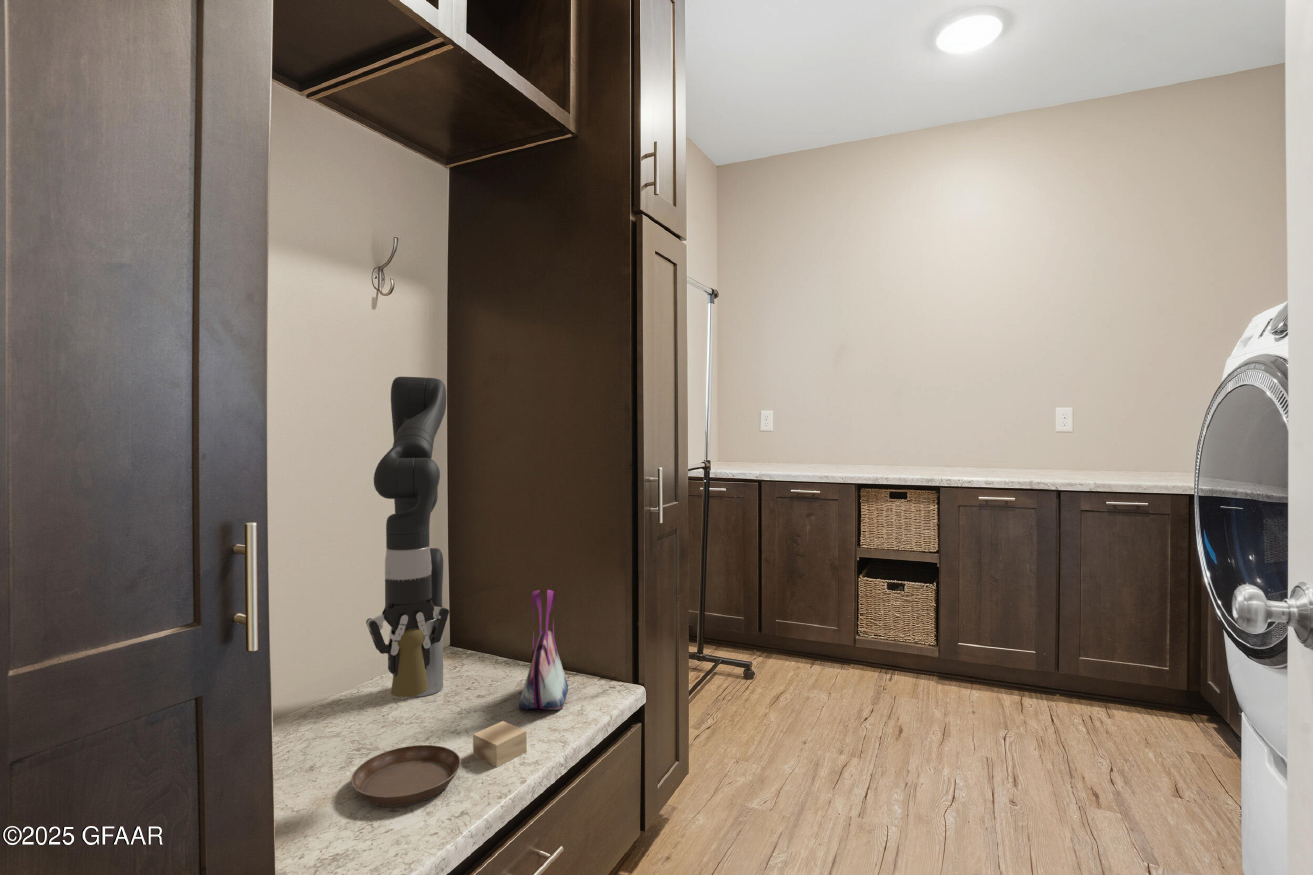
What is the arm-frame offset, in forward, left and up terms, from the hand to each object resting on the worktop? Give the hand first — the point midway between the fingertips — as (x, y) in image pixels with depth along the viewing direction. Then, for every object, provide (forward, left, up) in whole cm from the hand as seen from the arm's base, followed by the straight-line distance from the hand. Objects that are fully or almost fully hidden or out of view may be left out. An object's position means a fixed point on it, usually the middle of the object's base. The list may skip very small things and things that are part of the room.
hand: (409, 671), depth 113 cm
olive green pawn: (0, 0, -3) cm, 3 cm away
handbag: (-17, +35, -20) cm, 43 cm away
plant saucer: (0, 0, -20) cm, 20 cm away
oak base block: (0, +17, -20) cm, 26 cm away
